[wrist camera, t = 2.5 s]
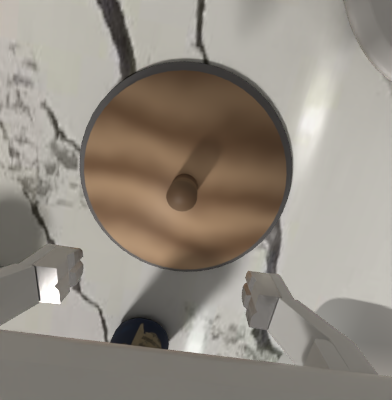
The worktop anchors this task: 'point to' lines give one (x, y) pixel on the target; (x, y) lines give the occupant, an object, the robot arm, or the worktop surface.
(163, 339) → the canister
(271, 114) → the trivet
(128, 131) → the lid
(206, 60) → the worktop surface
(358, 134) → the worktop surface
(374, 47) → the soup bowl
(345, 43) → the worktop surface
